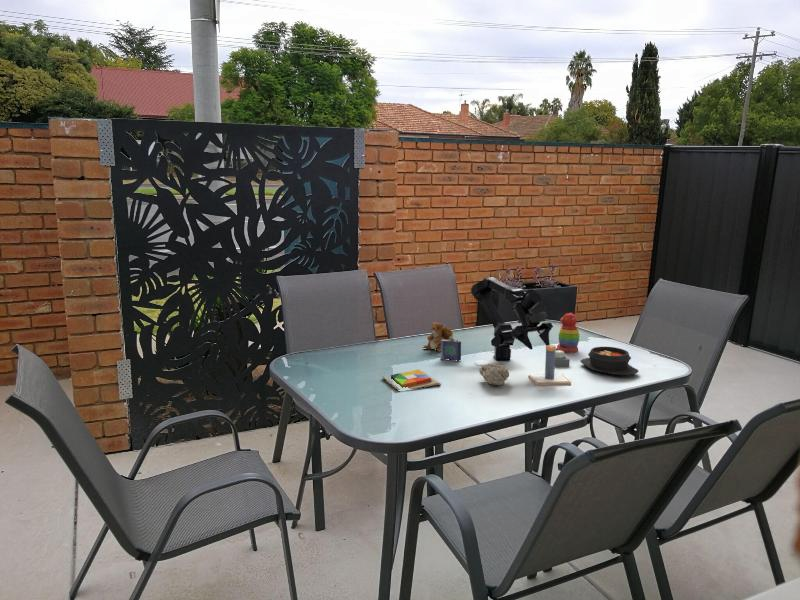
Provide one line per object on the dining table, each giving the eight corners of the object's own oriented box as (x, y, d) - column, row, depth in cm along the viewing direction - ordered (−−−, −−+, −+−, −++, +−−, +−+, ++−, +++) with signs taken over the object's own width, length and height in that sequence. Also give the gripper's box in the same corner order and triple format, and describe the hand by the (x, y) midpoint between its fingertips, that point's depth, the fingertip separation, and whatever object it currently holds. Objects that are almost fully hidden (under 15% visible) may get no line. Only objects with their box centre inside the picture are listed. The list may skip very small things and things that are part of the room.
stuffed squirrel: (421, 349, 282) (421, 322, 280) (439, 343, 293) (439, 317, 290) (438, 353, 276) (438, 326, 273) (456, 347, 286) (456, 320, 284)
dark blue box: (439, 359, 266) (440, 336, 264) (441, 358, 269) (442, 334, 267) (460, 361, 263) (460, 338, 261) (461, 360, 266) (462, 336, 264)
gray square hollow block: (553, 366, 256) (553, 359, 256) (548, 361, 263) (548, 355, 263) (569, 366, 257) (569, 359, 256) (563, 361, 264) (564, 354, 263)
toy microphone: (544, 378, 237) (545, 347, 234) (545, 375, 240) (546, 344, 238) (553, 379, 235) (555, 348, 233) (554, 376, 239) (556, 345, 236)
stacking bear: (557, 346, 288) (559, 310, 285) (579, 348, 284) (581, 311, 281) (555, 352, 278) (556, 314, 275) (577, 354, 275) (579, 316, 271)
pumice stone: (509, 391, 226) (510, 371, 224) (477, 389, 228) (478, 369, 226) (508, 379, 239) (509, 360, 238) (478, 378, 241) (479, 359, 240)
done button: (555, 361, 258) (556, 353, 257) (552, 359, 262) (553, 350, 261) (564, 361, 258) (565, 352, 257) (561, 359, 262) (562, 350, 261)
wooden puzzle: (381, 379, 241) (381, 371, 240) (423, 374, 248) (423, 366, 248) (397, 393, 225) (397, 384, 225) (442, 387, 232) (442, 378, 232)
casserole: (648, 374, 246) (649, 354, 244) (618, 382, 236) (620, 362, 235) (599, 359, 267) (600, 341, 265) (570, 366, 257) (571, 347, 255)
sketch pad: (535, 385, 233) (535, 382, 232) (528, 377, 242) (528, 374, 242) (570, 384, 233) (570, 381, 233) (562, 376, 243) (562, 373, 243)
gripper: (518, 306, 240) (534, 340, 233) (552, 303, 249) (568, 336, 243) (503, 320, 248) (518, 354, 242) (537, 316, 258) (552, 348, 251)
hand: (540, 347), depth 244 cm, fingers open, 9 cm apart
